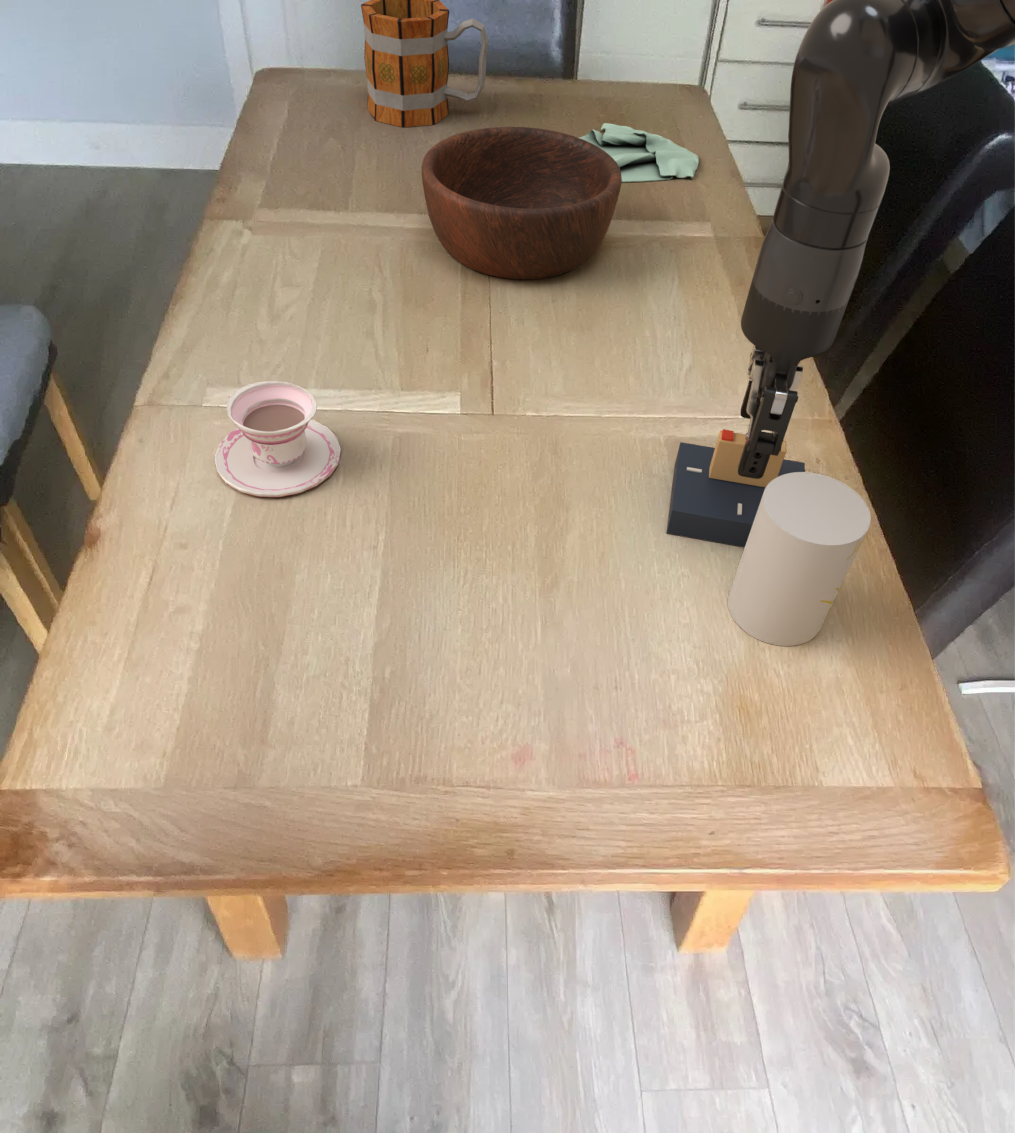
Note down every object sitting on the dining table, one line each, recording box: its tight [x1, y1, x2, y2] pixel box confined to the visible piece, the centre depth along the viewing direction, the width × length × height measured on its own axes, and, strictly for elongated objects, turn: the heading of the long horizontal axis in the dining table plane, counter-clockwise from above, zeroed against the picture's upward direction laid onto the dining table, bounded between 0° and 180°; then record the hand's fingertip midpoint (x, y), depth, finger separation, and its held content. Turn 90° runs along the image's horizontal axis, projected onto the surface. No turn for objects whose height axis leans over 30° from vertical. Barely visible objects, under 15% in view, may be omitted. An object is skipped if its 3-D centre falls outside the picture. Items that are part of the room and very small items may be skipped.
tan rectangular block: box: [709, 428, 787, 487], centre depth 83 cm, size 6×2×5 cm, turn 78°
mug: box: [360, 0, 490, 128], centre depth 143 cm, size 20×14×15 cm
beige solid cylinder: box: [727, 471, 872, 647], centre depth 73 cm, size 8×8×12 cm
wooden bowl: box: [421, 126, 623, 280], centre depth 116 cm, size 25×25×10 cm
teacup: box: [214, 380, 342, 498], centre depth 86 cm, size 12×12×6 cm
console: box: [665, 441, 806, 548], centre depth 85 cm, size 12×11×3 cm
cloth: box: [579, 122, 700, 183], centre depth 140 cm, size 20×22×2 cm
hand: (750, 444), depth 82 cm, fingers open, 8 cm apart
